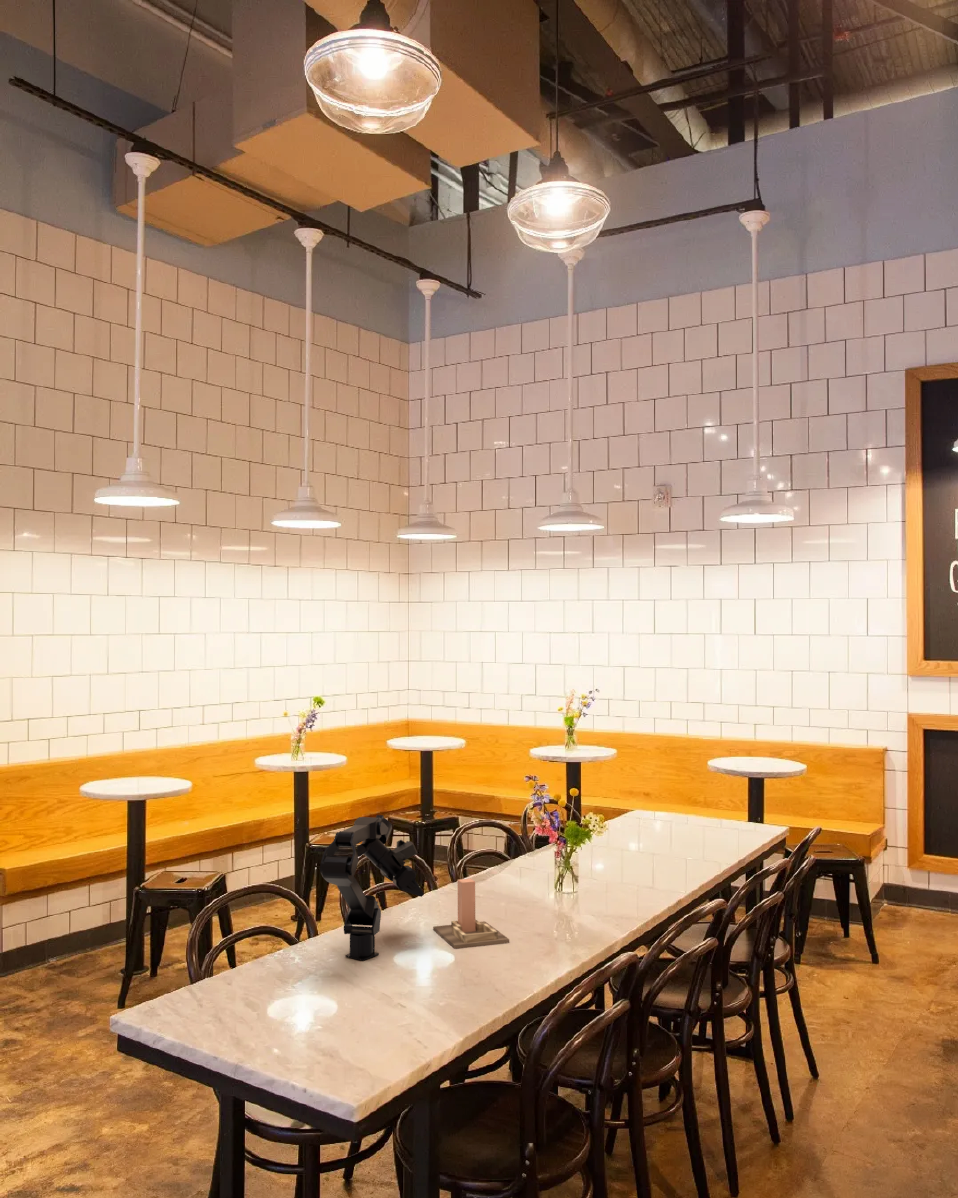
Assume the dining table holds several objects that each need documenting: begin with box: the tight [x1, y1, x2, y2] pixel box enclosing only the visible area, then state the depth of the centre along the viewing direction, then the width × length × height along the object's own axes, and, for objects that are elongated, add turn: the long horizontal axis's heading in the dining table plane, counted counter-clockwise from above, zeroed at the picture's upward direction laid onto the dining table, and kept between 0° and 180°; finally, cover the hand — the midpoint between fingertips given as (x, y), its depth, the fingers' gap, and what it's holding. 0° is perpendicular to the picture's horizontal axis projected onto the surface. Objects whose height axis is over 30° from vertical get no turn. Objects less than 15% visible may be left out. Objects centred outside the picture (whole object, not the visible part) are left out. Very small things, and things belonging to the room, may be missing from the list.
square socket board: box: [432, 918, 510, 950], centre depth 286 cm, size 20×16×3 cm
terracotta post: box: [457, 878, 476, 932], centre depth 289 cm, size 4×4×14 cm
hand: (418, 891), depth 282 cm, fingers open, 9 cm apart
